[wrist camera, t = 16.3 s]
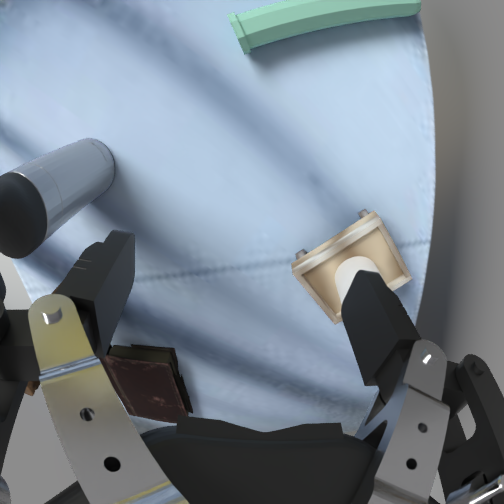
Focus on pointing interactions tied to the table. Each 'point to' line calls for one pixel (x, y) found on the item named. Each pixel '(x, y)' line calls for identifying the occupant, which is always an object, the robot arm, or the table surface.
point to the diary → (147, 381)
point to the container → (311, 17)
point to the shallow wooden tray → (342, 248)
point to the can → (351, 273)
